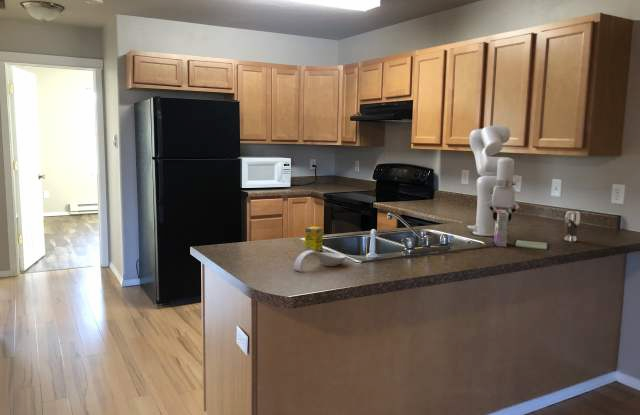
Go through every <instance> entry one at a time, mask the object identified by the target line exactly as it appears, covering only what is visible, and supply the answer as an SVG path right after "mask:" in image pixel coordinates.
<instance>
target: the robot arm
mask: <svg viewBox="0 0 640 415" xmlns="http://www.w3.org/2000/svg"><path fill="white" fill-rule="evenodd" d="M510 137H511V131H510V129H509V127H508V126H505V125H487V126H484V127H483V128H477V129H473V130H472V131H471V132H470V133H469V137H468V138H469V140H468V141H469V146H470V149H471V151H472V153H473V155H474V159H475V166H476V167H475V168H476V172H477V174H478V176H480V177H478V178H477V179H476V193H477V195H476V196H477V199H476V200H477V201H476V217H475V218H476V220H475V224H474V225H467V227H466V228H467V230H472V234H473V235H475V236H480V237H494V235H495V221H496V214H497V212H496V210H498V208H502V209H503V208H504V209H505V208H506V209H507V211H508V213H509V222H510V221H512V216H513V213H515V212H516V211H517V210H518V209H520V205H519V203H518V202H517V201H516V200H515V199H516V198H515V197H516V191H515V186H516V185H517V182H516V181H514V173H515V172H514V171H515V160H514V159H513V158H511V157H507V156H494V155H496V154H499V153H500V152H501V151H502V149H503V147H504V145H503V144H505V143H507V142H509V141H510V139H511V138H510ZM514 206H515V207H514Z"/></svg>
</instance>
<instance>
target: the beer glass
mask: <svg viewBox="0 0 640 415" xmlns="http://www.w3.org/2000/svg"><path fill="white" fill-rule="evenodd" d="M580 223H581V212H580V211H574V210H566V211H565V216H564V230H565V231H564V232H565V234H564V238H563V241H564V242H567V243H576V242H578V235H577V234H578V231H579V227H580Z"/></svg>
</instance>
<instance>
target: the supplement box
mask: <svg viewBox="0 0 640 415" xmlns="http://www.w3.org/2000/svg"><path fill="white" fill-rule="evenodd" d="M323 233H324V228H323V227H320V226H314V225H313V226H309V227H305V228H304V251H307V250H312V251H315V252H320V253H323V247H324V246H323V242H324V241H323V240H324V234H323Z"/></svg>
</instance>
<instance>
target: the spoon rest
mask: <svg viewBox="0 0 640 415" xmlns="http://www.w3.org/2000/svg"><path fill="white" fill-rule="evenodd" d="M310 255H313V256H314V257H315V258H316V259H317V260H318V261H319V262H320V263H321V264H322V265H323V266H326V267H336V266H339V265H340V264H342V263H343V262H344V261H345V260H346V258H347V256H346V255H345V254H341V253H335V252H315V251H312V250H307V251H305V250H304V251H303V252H301V253H300V254H299V255H298V256H297V258H296V259H295V260H294V262H293V270H294V271H297V272H301V273H302V272H303V264H304V261H305V259H306V258H307V257H308V256H310Z"/></svg>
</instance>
